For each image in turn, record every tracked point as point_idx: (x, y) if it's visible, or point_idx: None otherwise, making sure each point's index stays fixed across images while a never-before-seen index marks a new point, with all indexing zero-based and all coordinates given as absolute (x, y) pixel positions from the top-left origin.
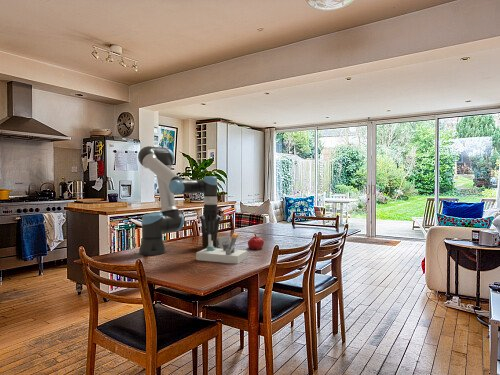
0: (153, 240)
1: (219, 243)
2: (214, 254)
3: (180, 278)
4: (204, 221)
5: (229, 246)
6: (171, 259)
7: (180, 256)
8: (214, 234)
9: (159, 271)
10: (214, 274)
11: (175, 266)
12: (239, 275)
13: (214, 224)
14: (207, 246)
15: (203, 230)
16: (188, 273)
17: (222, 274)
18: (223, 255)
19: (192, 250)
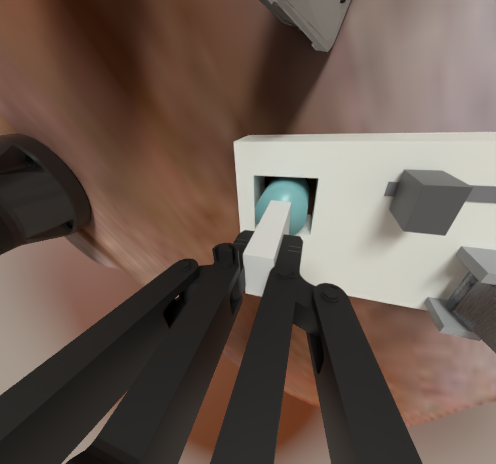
0: (19, 242)
1: (299, 20)
2: (347, 294)
3: (306, 387)
4: (36, 446)
5: (488, 345)
6: (173, 258)
7: (163, 213)
8: (301, 277)
9: (233, 349)
10: (386, 381)
11: (239, 320)
12: (486, 400)
13: (275, 448)
14: (255, 213)
15: (170, 315)
16: (307, 366)
17: (414, 385)
18: (407, 303)
19: (98, 51)
